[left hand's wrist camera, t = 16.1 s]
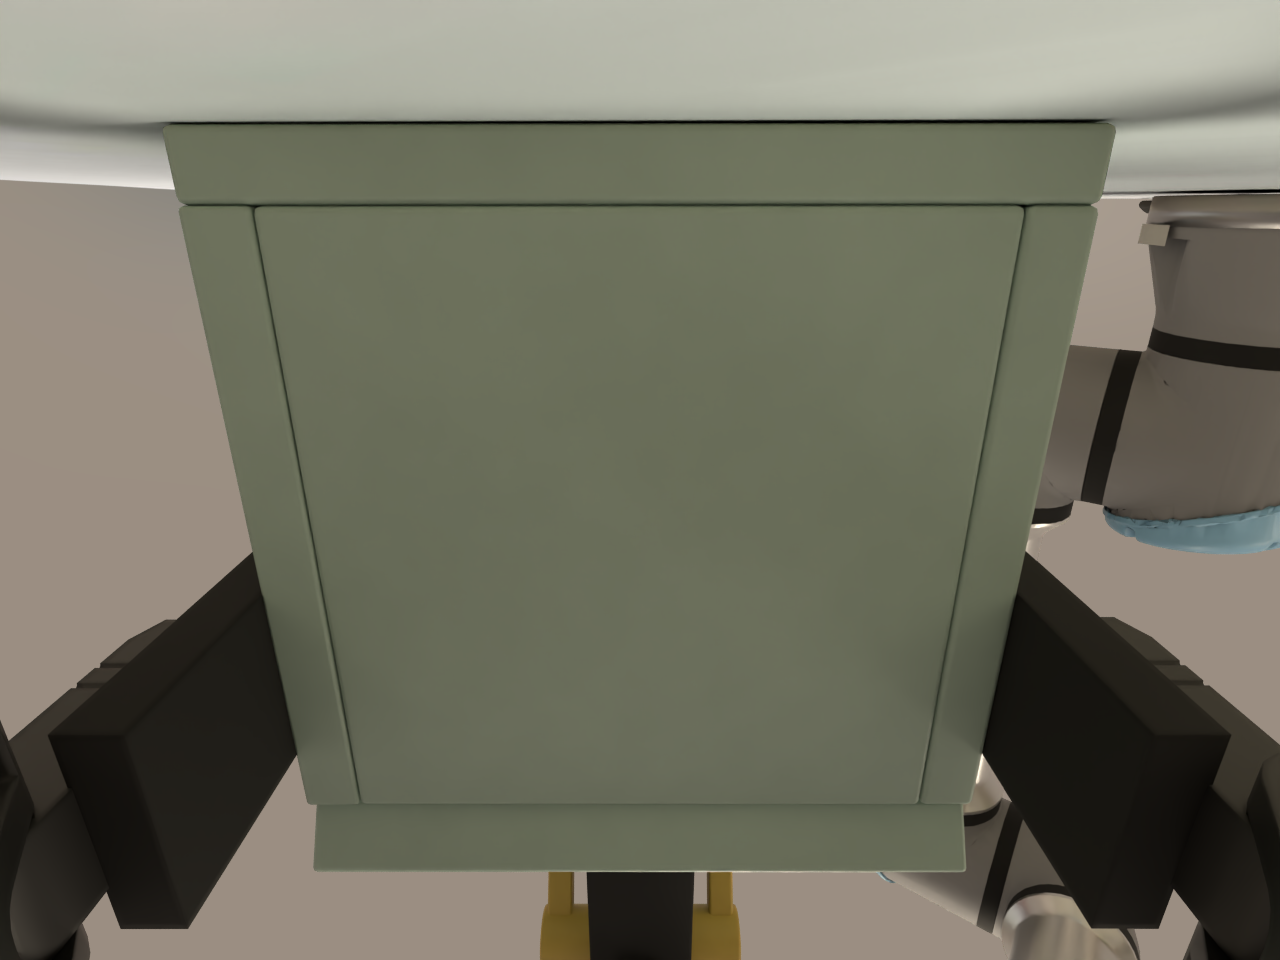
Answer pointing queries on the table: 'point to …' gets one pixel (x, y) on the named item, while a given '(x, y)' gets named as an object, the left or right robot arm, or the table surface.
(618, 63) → the table surface
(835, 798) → the chest
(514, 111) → the table surface
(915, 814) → the lid
